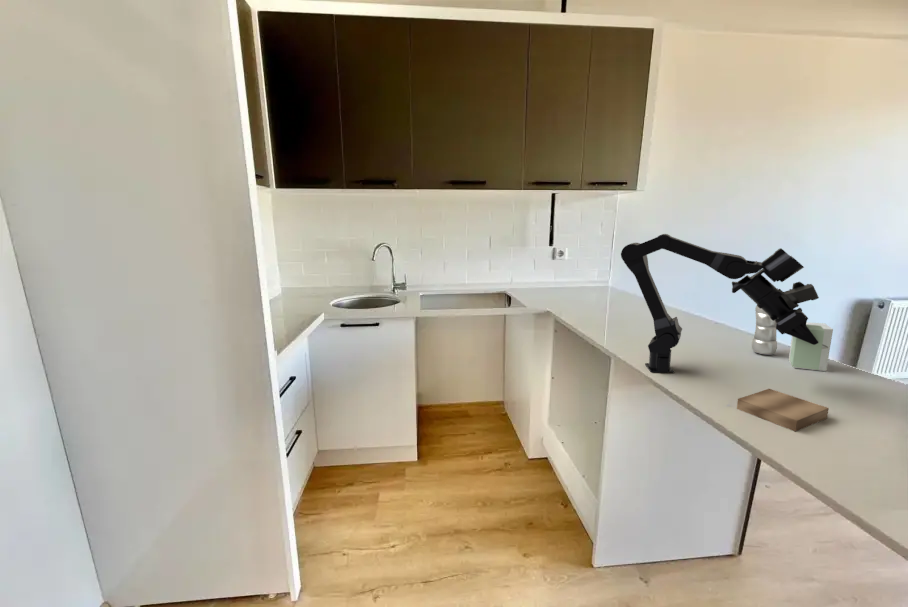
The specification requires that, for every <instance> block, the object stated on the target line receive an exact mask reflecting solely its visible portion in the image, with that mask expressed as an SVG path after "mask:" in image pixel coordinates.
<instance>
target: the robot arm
mask: <svg viewBox="0 0 908 607" xmlns="http://www.w3.org/2000/svg"><path fill="white" fill-rule="evenodd" d="M661 250H665V251H668V252H671V253H673V254H676V255H679V256H682V257H684V258H688V259H689V260H692V261H695V262H698V263H701V264H703V265H705V266H708V267H709V268H711V269H712V270H714V271H716V272H717V273H718V274H720V275H722V276H724V277H726V278H728V279H730V280H737V279H740V278H741V279H740V280H738V281H732V282H731V286H732V288H731V293H732V294H735V293H737V292H738V291H740V290H741V291H742V292H743V293H744V294H745V295H746V296H747V297H748V298H750V299H751V300H752V301H753V302H754V303H755V304H756V306H758V307H759V308H760V309H762V310H764V311H765V312H766V313H767V314H768V315H769V316H770V318H771V319H772V320H773V321H774V320H775V328H776V329H777V330H776V331H777V332H779V333H780V334H781V335H785V334H786V335H789V336H790V337H792V336H793V337H796V338H798V339H801V340H803V341H806V342H808V343H811V344H813V345H815V344H817V343H818V341H817V339H816V338H815V337H814V335H813V334H812V333H811V331H810V330H809V328H808V327H807V326H806V322H807V321H808V320H809V317H808V316H807V315H806V314H805V313H804V312H803V309H802V308H801V307H800V305H799V304H801V303H805V302H809V301H815V300H817V299H819V298H820V297H819V294H818V292H817V291H816V288H815V286H814V285H813V284H812V283H807V284H804V283H803V282H801V281H798V282H797V281H796V282H793V284H792V288H789V289H788V290H785V291H783V290H781V288H779V287H778V288H777V287H776V286H775V285H774V284H773V283H775V282H777V283H778V282H781V283H783V282H784V281H786V280H787V279H789V278H790V277H792V276H793V275H795V274H796V273H798V272H799V271H801V270H802V269H804V268H805V267H804V266H803V264H801V263H800V262H799V261H798V260H797V259H796V258H795V257H793V256H792V255H790V254H788V253H787V252H786V251H785V250H784V249H782V248H778V249H777V250H776V251H774V252H773V254H771V255H770V256H768V257H767V258H765V259H764V260H763V261H757V260H755V261H754V260H747V259H746V258H745V257H743V256H742V255H738V254H734V253H728V252H722V251H721V252H719V251H715V250H711V249H708V248H705V247H702V246H700V245H696V244H694V243H691V242H688V241H685V240H683V239H679V238H676V237H674V236H671V235H670V234H668V233H662V234H660V235H657V237H656V236H655V237H654V238H652V239H650V240H647V241H644V242H642V243H639V242H632V243H629V244H627V245H625V246H624V247H623V248H622V250H621V252H620V256H621V259H622V261H623V263H624V264H625V265H626V267H627V268H628V269H629V271H630V272H631V273H632V274H633V276H634V277H635V279H636V282H637V285H638V286H639V289H640V291H641V293H642V295H643V298H644V300H645V303H646V305H647V307H648V310H649V312H650V314H651V316H652V319H653V327H654V333H655V335H654V336H653V337H651V340H650V342H649V344H648V345H647V347H648V351H649V357H648V358H649V359H648V363H647V362H646V363H644V365H645V367H646V368H647V369H648V371H649V372H650V373H665V372H674V373H675V370H674V369H673V368H672V367H671V360H672V348H675V347H676V346H677V345H678V344H679V342H680V341H681V340H680V339H681V337H682V331H683V328H682V326H681V325H680V323H679V318H678V317H677V316H675V317H673V318H672V316H670V314H669V313H668V312H667V311H668V310H667V308H666V306H665V304H664V302H663V300H662V299H663V298H662V297H661V295H660V292H659V291H658V288H657V285H656V284H655V281H654V278H653V275H652V274H651V272H650V269H649V261H648V260H649V258H648V255H650V254H652V253H654V252H657V251H661ZM749 274H752V275H751V276H750V275H749ZM763 274H765V276H766V277H767V278H766V277H765V276H764V275H763ZM768 278H769V279H770V280H771V281H772V282H773V283H772V282H770V281H769V280H768ZM798 307H799V308H798ZM796 308H797V309H796Z"/></svg>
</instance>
